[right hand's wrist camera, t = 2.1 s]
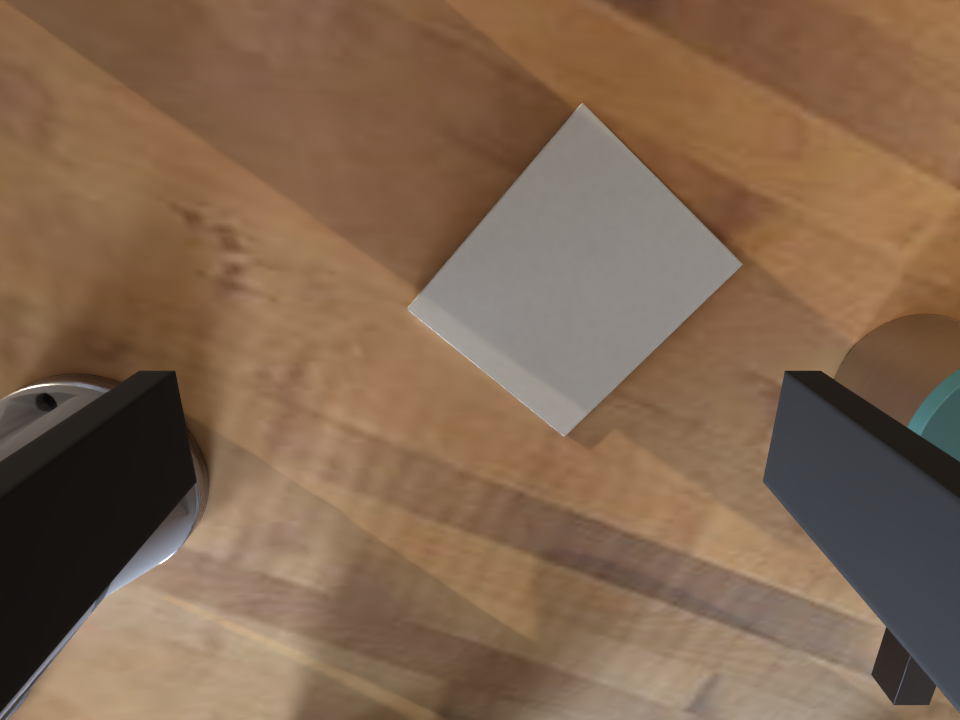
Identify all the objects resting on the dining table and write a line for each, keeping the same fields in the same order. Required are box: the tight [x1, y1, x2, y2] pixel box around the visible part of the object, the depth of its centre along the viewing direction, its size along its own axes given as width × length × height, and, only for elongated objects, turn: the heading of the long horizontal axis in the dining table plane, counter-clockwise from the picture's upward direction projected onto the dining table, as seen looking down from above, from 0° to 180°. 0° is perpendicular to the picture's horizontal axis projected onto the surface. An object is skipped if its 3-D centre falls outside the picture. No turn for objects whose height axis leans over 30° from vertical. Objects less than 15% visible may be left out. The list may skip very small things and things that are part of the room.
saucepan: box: [834, 314, 960, 705], centre depth 38 cm, size 25×10×8 cm, turn 0°
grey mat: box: [407, 103, 743, 437], centre depth 36 cm, size 16×14×1 cm
